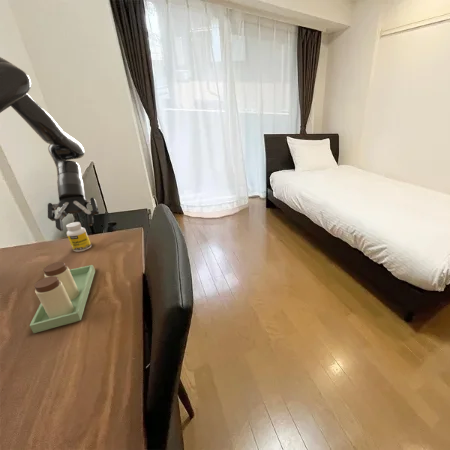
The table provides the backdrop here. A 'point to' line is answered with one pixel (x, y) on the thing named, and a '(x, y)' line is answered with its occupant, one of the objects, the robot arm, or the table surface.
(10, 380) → the table surface
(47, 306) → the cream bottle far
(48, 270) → the cream bottle middle
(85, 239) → the supplement bottle
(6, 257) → the table surface
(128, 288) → the table surface
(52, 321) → the tray
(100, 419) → the table surface
